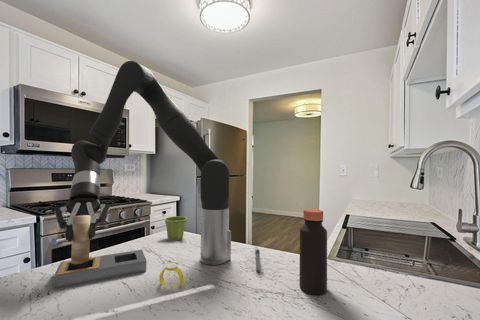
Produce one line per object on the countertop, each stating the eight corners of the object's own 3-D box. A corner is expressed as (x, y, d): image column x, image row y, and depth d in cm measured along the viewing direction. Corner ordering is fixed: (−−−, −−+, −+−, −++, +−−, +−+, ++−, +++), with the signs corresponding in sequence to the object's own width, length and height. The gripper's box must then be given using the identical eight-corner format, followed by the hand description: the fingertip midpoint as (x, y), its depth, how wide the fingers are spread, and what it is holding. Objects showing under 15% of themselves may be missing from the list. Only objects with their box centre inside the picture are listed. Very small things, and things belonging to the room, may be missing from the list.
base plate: (141, 262, 75) (142, 248, 75) (146, 274, 66) (146, 259, 67) (60, 276, 65) (60, 261, 65) (52, 293, 56) (53, 276, 56)
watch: (183, 288, 60) (185, 265, 60) (179, 294, 57) (181, 270, 57) (162, 284, 61) (164, 261, 61) (156, 289, 58) (158, 266, 58)
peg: (89, 257, 66) (90, 214, 66) (88, 262, 62) (90, 217, 63) (72, 259, 64) (73, 215, 64) (70, 265, 60) (71, 218, 61)
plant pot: (166, 235, 103) (166, 216, 104) (187, 235, 104) (188, 216, 105) (161, 242, 94) (161, 221, 94) (185, 242, 95) (185, 220, 95)
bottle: (294, 284, 62) (294, 209, 62) (314, 280, 64) (314, 207, 65) (311, 298, 56) (311, 213, 56) (333, 292, 58) (333, 212, 59)
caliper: (259, 273, 69) (260, 251, 69) (256, 272, 69) (256, 251, 69) (257, 248, 89) (257, 232, 90) (254, 248, 90) (254, 232, 90)
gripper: (55, 181, 67) (43, 235, 56) (112, 180, 74) (111, 228, 63) (58, 197, 71) (47, 250, 60) (111, 195, 78) (110, 242, 67)
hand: (80, 238), depth 62 cm, fingers closed on peg, 4 cm apart
